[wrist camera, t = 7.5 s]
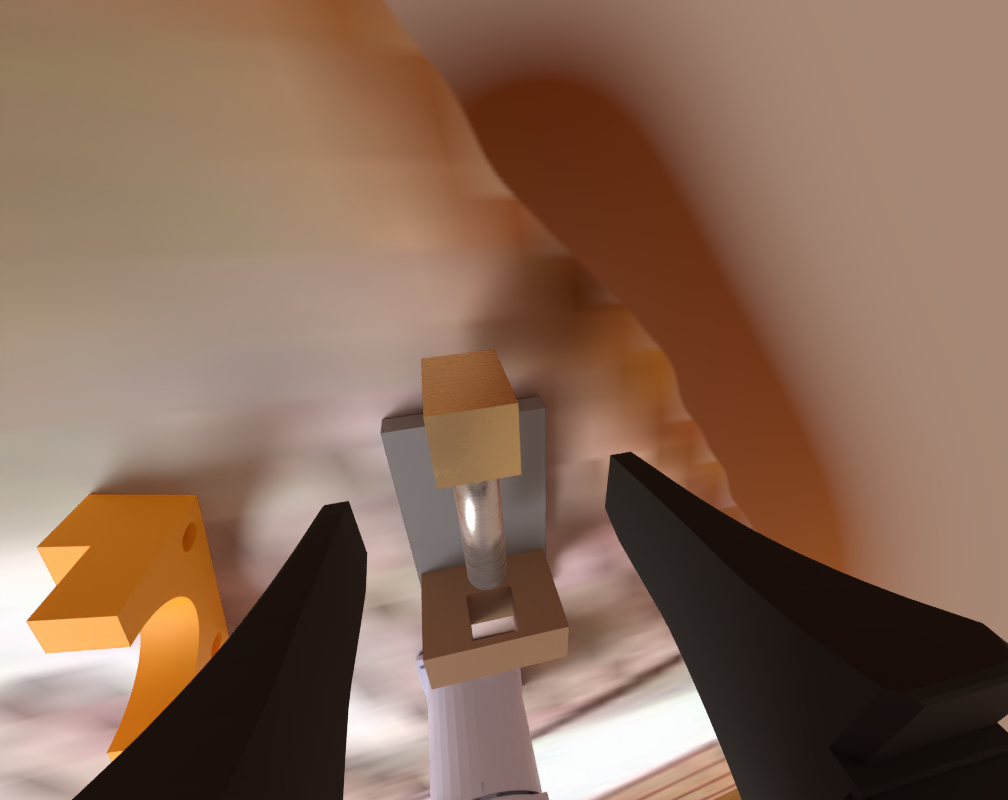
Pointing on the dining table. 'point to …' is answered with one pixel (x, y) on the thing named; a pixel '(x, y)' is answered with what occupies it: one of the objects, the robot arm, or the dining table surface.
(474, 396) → the pin
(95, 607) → the pipe clamp
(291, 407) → the dining table surface
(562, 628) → the eye block
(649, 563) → the robot arm
